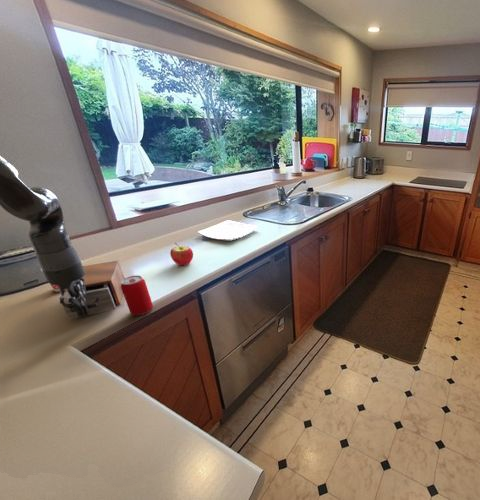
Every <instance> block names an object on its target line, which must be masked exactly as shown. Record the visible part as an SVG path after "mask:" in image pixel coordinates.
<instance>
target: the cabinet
mask: <svg viewBox="0 0 480 500" xmlns="http://www.w3.org/2000/svg"><path fill="white" fill-rule="evenodd" d="M82 266H83V269H84V271H85V275H84V276H83V277H82V278H84V279H85V287H89V286H95V285H100V284H106V283H109V284H110V287H111V290H112V292H113V295H114V297H115V302H114V303H115V306H116V307H117V306H120V305H121V303H122V299H123V297H124V294H123V292H122V289H121V284H122V283H121V282H122V280H124V279H125V278H126V277H125V275H124V272H123V269H122V267H121V264H120V261H119V260H114V261H107V262H100V263H95V264H88V265H82ZM60 296H63V294H61V293H60Z"/></svg>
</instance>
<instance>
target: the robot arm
mask: <svg viewBox="0 0 480 500" xmlns="http://www.w3.org/2000/svg"><path fill="white" fill-rule="evenodd" d="M19 176H20V173H19V171H18V170H17V168H16V167H15V166H14V165H12V164H11V163H10V162H8V161H7V159H5V158H4V157H2V156H1V155H0V207H1V208H2V209H3V210H4V211H5V212H7V214H9V215H11V216H12V217H15V218H16V219H18V220H21V221H24V222H29V229H28V232H27V237H28V240H29V242H30V245H31V247H32V249H33V251H34V252H35V255H36V256H35V257H36V260H37V263H38V264H39V266H40V269H41V268H42V270H43V272H42V273H43V274H44V275H43V276H44V277H45V279H46V281H47V282H48V284H49V285H51V284H53V285H58V286H60V289H59V290H60V291H59V292H60V295H61V294H63V296H64V299H59V304H61V305H62V306H63V305H64V306H65V307H67V308H69V309H73V308H75V310H76V313H77V315H78V317H77V318H83V317H87V316H89V315H88V314H89V310H88V308H87V305H86V303H85V302H86V299H85V297H87V295H86V287H85V279H84V278H82V277H83V276H84V275H85V271H84V269H83V266H84V265H83V264H82V262H81V259H80V257H79V254H78V252H77V249H75V247H74V245H73V243H72V241H71V238H70V236H69V233H68V232H67V230H66V224H65V217H64V212H63V208H62V205H61V202H60V201H59V198H58V197H57V196H56V194H55V193H53V192H52V191H51V190H49V189H46V188H44V187H42V186H41V187H40V186H32V187H28V186H27V185H26V184H25V183H24V182H23V181H22V180H21V179H20V178H19Z"/></svg>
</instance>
